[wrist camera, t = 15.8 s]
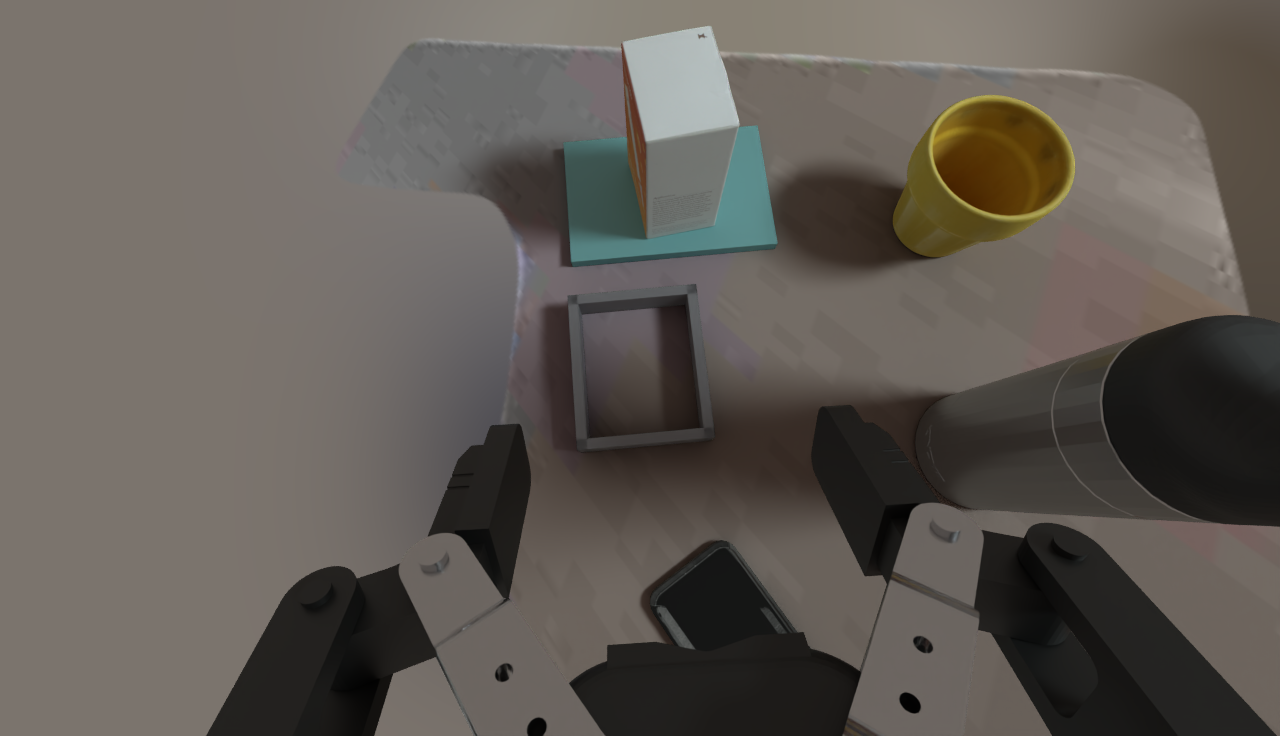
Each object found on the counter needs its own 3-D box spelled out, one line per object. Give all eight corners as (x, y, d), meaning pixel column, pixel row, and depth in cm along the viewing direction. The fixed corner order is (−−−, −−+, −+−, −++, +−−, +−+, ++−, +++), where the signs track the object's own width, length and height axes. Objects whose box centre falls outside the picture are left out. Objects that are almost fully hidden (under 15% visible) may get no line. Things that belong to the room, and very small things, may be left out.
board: (755, 132, 48) (757, 125, 47) (774, 248, 45) (777, 243, 44) (565, 149, 48) (563, 142, 47) (572, 266, 45) (571, 261, 44)
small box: (626, 162, 46) (619, 38, 33) (694, 149, 46) (712, 21, 34) (645, 242, 44) (644, 142, 31) (715, 228, 44) (743, 123, 32)
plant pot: (853, 249, 45) (908, 185, 35) (891, 157, 47) (953, 73, 37) (967, 297, 44) (1055, 243, 34) (1001, 200, 46) (1094, 124, 36)
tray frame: (693, 295, 44) (696, 283, 42) (711, 440, 41) (715, 437, 39) (571, 306, 44) (567, 295, 41) (581, 452, 41) (576, 450, 38)
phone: (772, 790, 35) (644, 599, 38) (769, 781, 36) (644, 596, 39) (859, 714, 36) (727, 534, 39) (853, 707, 37) (725, 532, 40)
